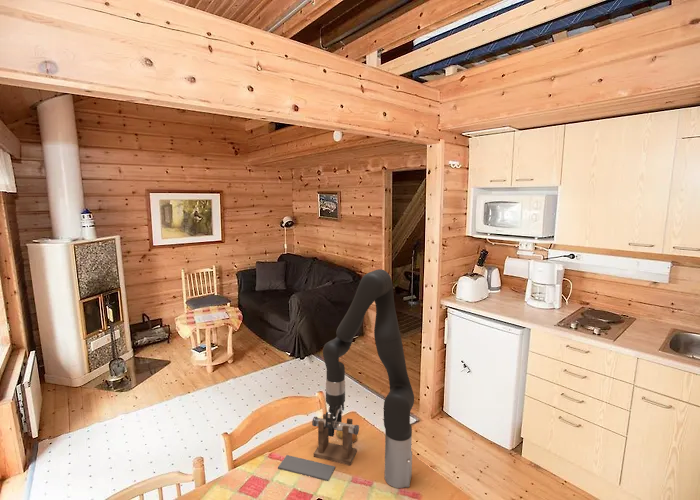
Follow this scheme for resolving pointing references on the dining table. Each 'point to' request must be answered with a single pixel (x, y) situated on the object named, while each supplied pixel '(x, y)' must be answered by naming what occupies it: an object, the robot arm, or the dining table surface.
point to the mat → (307, 467)
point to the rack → (335, 445)
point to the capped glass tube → (337, 425)
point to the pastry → (340, 435)
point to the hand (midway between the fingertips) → (335, 429)
